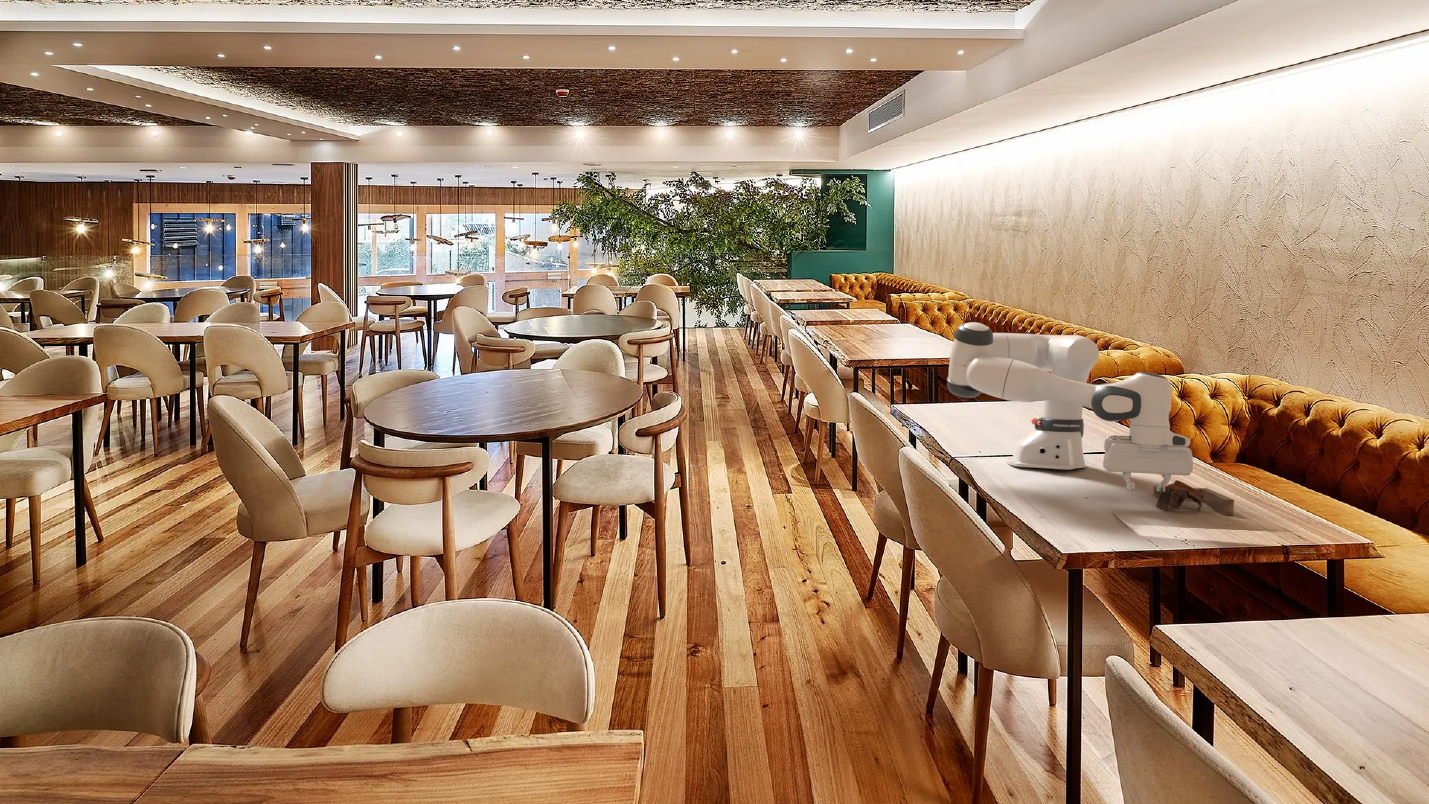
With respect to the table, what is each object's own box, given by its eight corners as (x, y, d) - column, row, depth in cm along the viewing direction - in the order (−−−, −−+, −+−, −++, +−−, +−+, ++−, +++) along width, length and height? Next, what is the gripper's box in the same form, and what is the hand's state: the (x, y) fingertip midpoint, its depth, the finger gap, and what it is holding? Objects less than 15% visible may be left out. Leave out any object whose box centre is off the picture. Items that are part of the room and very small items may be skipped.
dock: (1175, 513, 201) (1176, 497, 200) (1152, 501, 216) (1153, 486, 216) (1233, 516, 198) (1234, 499, 198) (1206, 503, 214) (1206, 488, 214)
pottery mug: (1153, 504, 212) (1172, 478, 210) (1189, 525, 207) (1208, 498, 206) (1151, 502, 201) (1170, 474, 200) (1189, 523, 197) (1209, 495, 195)
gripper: (1108, 436, 204) (1105, 490, 205) (1197, 439, 200) (1193, 495, 201) (1101, 433, 210) (1098, 486, 211) (1187, 437, 206) (1183, 490, 207)
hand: (1145, 490), depth 206 cm, fingers open, 6 cm apart
